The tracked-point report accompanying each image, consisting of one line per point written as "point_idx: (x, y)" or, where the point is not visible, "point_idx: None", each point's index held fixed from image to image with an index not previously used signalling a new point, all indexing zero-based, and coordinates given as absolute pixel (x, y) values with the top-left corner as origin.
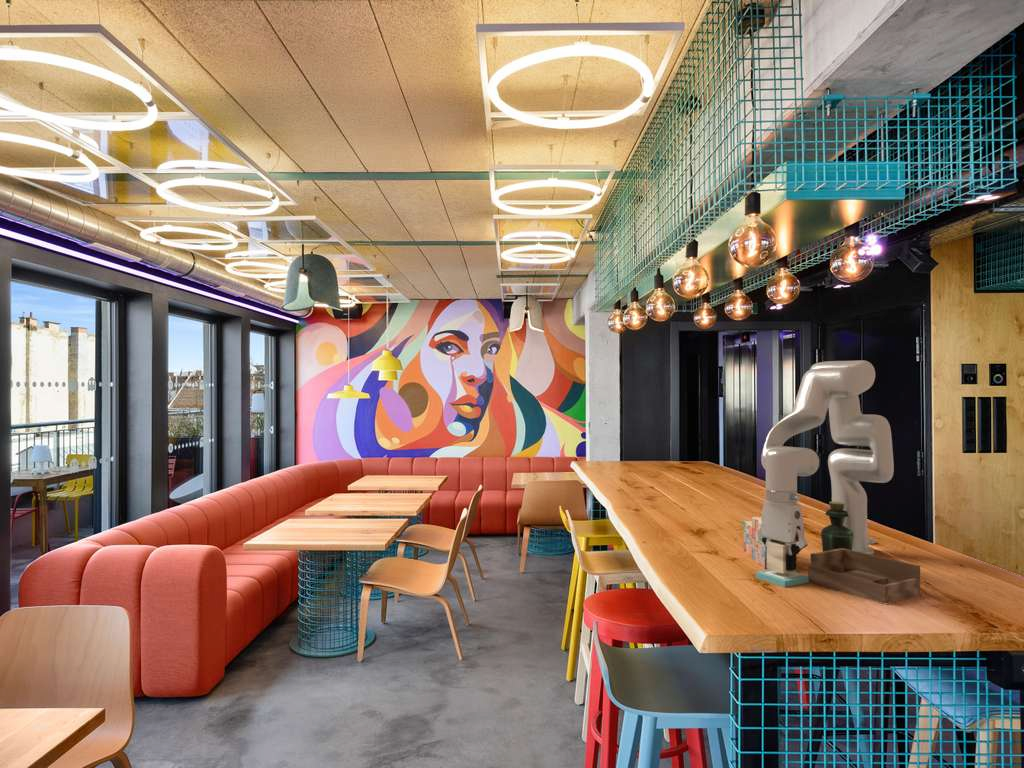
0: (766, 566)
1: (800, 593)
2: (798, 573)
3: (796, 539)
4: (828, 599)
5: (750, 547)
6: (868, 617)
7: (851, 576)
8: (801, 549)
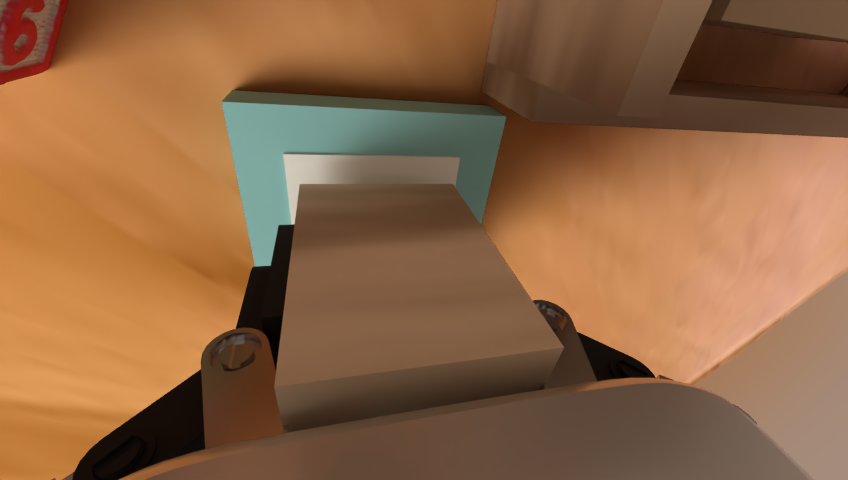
0: (27, 57)
1: (534, 285)
2: (424, 112)
3: (606, 400)
4: (635, 254)
5: None
6: (747, 282)
7: (825, 110)
8: (629, 361)
